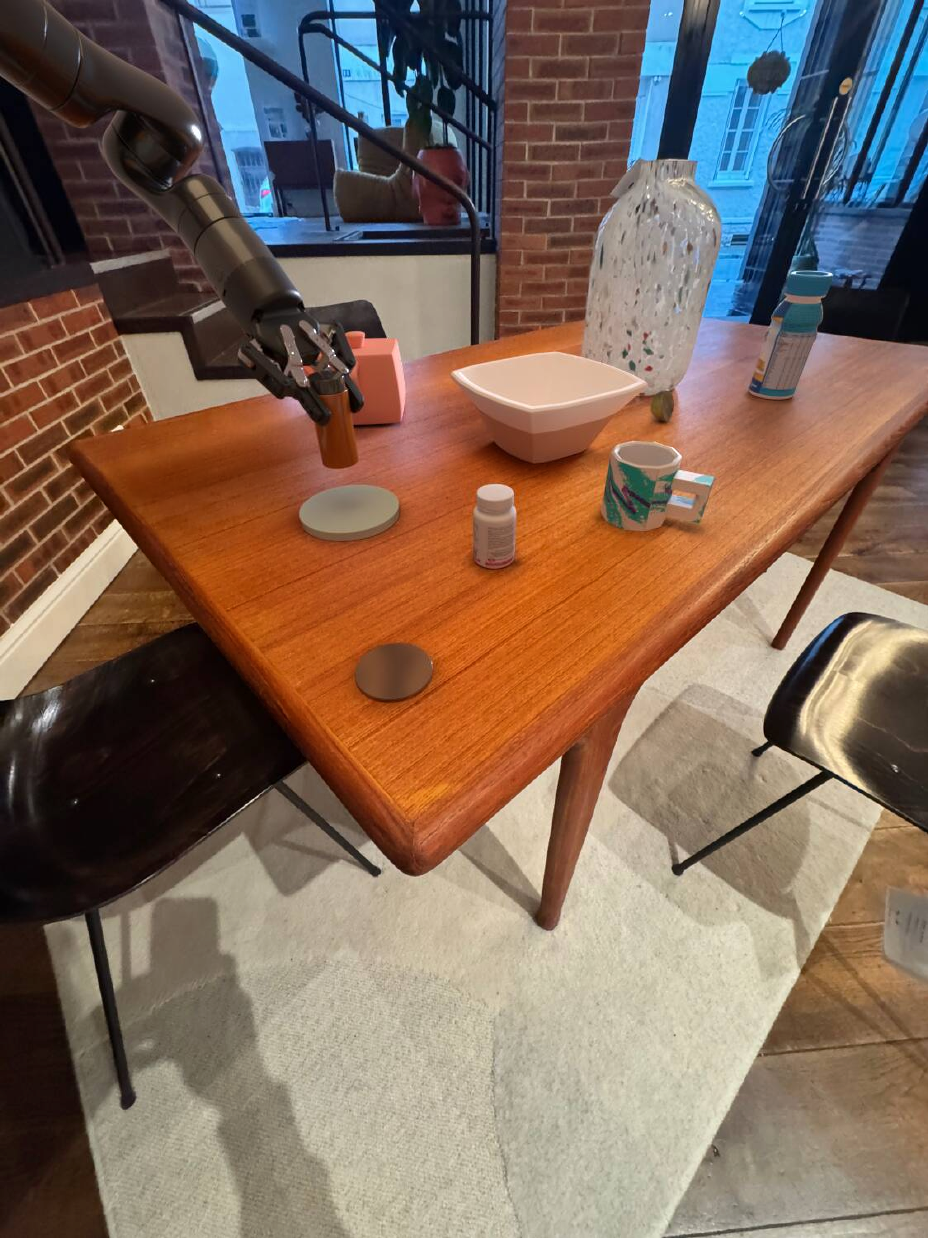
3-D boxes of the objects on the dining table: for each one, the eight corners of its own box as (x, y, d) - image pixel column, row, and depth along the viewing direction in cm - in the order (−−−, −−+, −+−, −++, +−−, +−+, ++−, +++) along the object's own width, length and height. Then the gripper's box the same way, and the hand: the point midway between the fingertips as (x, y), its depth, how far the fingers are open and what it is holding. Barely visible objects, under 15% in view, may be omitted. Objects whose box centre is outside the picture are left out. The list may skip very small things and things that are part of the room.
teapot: (408, 395, 106) (402, 317, 97) (402, 436, 90) (393, 347, 81) (311, 398, 106) (295, 320, 97) (286, 439, 89) (264, 351, 80)
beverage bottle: (775, 403, 98) (820, 278, 85) (737, 391, 104) (774, 272, 91) (803, 395, 101) (851, 273, 88) (765, 384, 107) (804, 268, 94)
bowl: (648, 452, 83) (663, 382, 76) (521, 491, 73) (526, 415, 66) (554, 409, 98) (559, 347, 91) (439, 437, 89) (436, 371, 82)
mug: (613, 495, 72) (624, 435, 67) (704, 515, 67) (723, 453, 62) (593, 522, 67) (603, 459, 61) (690, 546, 62) (710, 480, 57)
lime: (670, 414, 95) (677, 385, 92) (675, 424, 92) (683, 394, 88) (645, 414, 96) (651, 385, 92) (649, 423, 92) (656, 394, 89)
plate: (310, 550, 63) (308, 542, 62) (293, 503, 72) (291, 495, 71) (412, 527, 66) (412, 519, 66) (384, 485, 76) (383, 477, 75)
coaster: (366, 712, 44) (365, 709, 44) (347, 658, 49) (346, 655, 48) (444, 687, 46) (443, 684, 45) (418, 637, 51) (418, 634, 50)
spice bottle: (326, 471, 62) (309, 383, 56) (319, 457, 65) (302, 372, 59) (362, 465, 63) (349, 378, 57) (353, 451, 67) (340, 367, 60)
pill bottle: (521, 554, 61) (525, 488, 56) (501, 574, 58) (504, 506, 53) (486, 543, 63) (487, 478, 58) (465, 562, 60) (464, 495, 55)
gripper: (292, 297, 65) (374, 416, 67) (185, 317, 56) (283, 453, 58) (311, 247, 59) (400, 379, 61) (195, 261, 50) (304, 414, 52)
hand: (342, 414), depth 60 cm, fingers closed on spice bottle, 4 cm apart
